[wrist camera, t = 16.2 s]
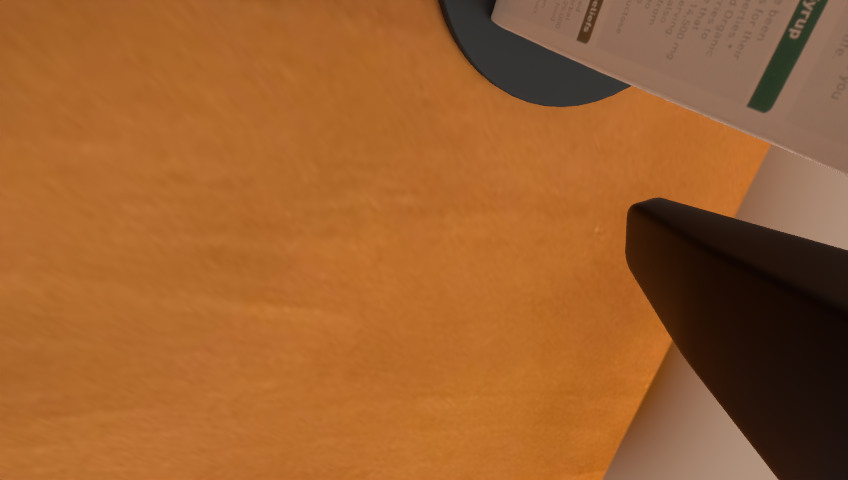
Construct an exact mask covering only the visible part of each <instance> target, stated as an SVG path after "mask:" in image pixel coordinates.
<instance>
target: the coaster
mask: <svg viewBox="0 0 848 480" xmlns="http://www.w3.org/2000/svg"><path fill="white" fill-rule="evenodd" d="M439 2H440V5H441V8H442V11H443V14H444V17H445V21H446V23H447V25H448V27H449V29H450V31H451V34H452V36H453V38H454V40H455V42H456V43H457V45H458V46H459V48H460V49H461V51H462V52H463V54H464V56H465V57H466V58H467V59H468V61H469V62H470V63H471V64H472V65H473V66H474V68H475V69H476V70H477V71H478V72H479V73H480V74H481V75H483V76H484V77H485V78H486V79H487V80H489V81H490V82H491V83H492V84H494V85H495V86H497V87H498V88H500V89H502V90H503V91H505V92H507V93H508V94H510V95H512V96H514V97H516V98H519V99H521V100H524V101H526V102H530V103H534V104H539V105H543V106H555V107H566V106H578V105H583V104H587V103H592V102H596V101H599V100H601V99H604V98H607V97H609V96H612V95H614V94H616V93H618V92H620V91H622V90H624V89H626V88H628V87H630V86H631V85H629V84H627V83H625V82H622V81H620V80H618V79H615V78H613V77H610V76H608V75H606V74H603V73H601V72H599V71H596V70H594V69H592V68H589V67H587V66H585V65H583V64H581V63H579V62H576V61H574V60H572V59H570V58H567V57H565V56H563V55H560V54H558V53H556V52H554V51H552V50H549V49H547V48H545V47H543V46H541V45H539V44H537V43H534V42H532V41H530V40H528V39H526V38H524V37H522V36H519V35H517V34H515V33H513V32H511V31H508V30H506V29H504V28H502V27H500V26H498V25H497V24H495V23H494V22H493V21H492V20H491V15H492V13H493V10H494V7H495V3H496V0H439Z"/></svg>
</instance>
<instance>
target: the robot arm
mask: <svg viewBox="0 0 848 480" xmlns="http://www.w3.org/2000/svg"><path fill="white" fill-rule="evenodd" d="M625 254H626V260H627V264H628V266H629V269H630V271H631V272H632V274H633V276H634V277H635V279H636V280H637V282H638V284H639V285H640V287H641V289H642V290H643V292H644V294H645V295H646V297H647V299H648V300H649V302H650V303H651V305H652V307H653V308H654V310H655V312H656V313H657V315H658V317H659V318H660V320H661V322H662V323H663V325H664V326H665V328H666V330H667V331H668V333H669V335H670V336H671V338H672V340H673V341H674V343H675V344H676V346H677V347H678V349H679V350H680V352H681V353H682V355H683V356H684V358H685V359H686V360H687V362H688V363H689V365H690V366H691V367H692V368H693V370H694V371H695V372H696V374H697V375H698V376H699V378H700V379H701V380H702V382H704V384H705V385H706V387H707V388H708V389H709V391H710V392H711V393H712V394H713V396H714V397H715V398H716V400H717V401H718V402H719V404H720V405H721V406H722V407H723V409H724V410H725V411H726V412H727V414H728V415H729V416H730V418H731V419H732V420H733V422H734V423H735V424H736V425H737V427H738V428H739V429H740V431H741V432H742V433H743V434H744V436H745V437H746V438H747V440H748V441H749V442H750V443H751V445H752V446H753V447H754V449H755V450H756V451H757V452H758V454H759V455H760V456H761V458H762V459H763V460H764V462H765V463H766V464H767V465H768V467H769V468H770V469H771V471H772V472H773V473H774V474H775V476H776V477H777V478H778V479H779V480H848V250H844V249H841V248H837V247H834V246H830V245H827V244H823V243H819V242H815V241H812V240H809V239H805V238H802V237H798V236H795V235H791V234H788V233H784V232H780V231H777V230H773V229H770V228H766V227H762V226H759V225H756V224H752V223H748V222H745V221H741V220H737V219H734V218H731V217H727V216H724V215H720V214H716V213H713V212H709V211H706V210H702V209H699V208H695V207H692V206H688V205H685V204H681V203H677V202H674V201H670V200H667V199H663V198H653V199H649V200H646V201H643V202H639V203H636V204H633V205H632V206H631V207H630V208H629V210H628V213H627V226H626V249H625Z"/></svg>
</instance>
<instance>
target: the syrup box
mask: <svg viewBox="0 0 848 480" xmlns="http://www.w3.org/2000/svg"><path fill="white" fill-rule="evenodd" d="M491 20H492V21H493V22H494V23H495V24H497V25H498V26H500V27H502V28H504V29H506V30H508V31H511V32H513V33H515V34H517V35H519V36H522V37H524V38H526V39H528V40H530V41H532V42H534V43H537V44H539V45H541V46H543V47H545V48H547V49H549V50H552V51H554V52H556V53H558V54H560V55H563V56H565V57H567V58H570V59H572V60H574V61H576V62H579V63H581V64H583V65H585V66H587V67H589V68H592V69H594V70H596V71H599V72H601V73H603V74H606V75H608V76H610V77H613V78H615V79H618V80H620V81H622V82H625V83H627V84H629V85H632V86H634V87H636V88H639V89H641V90H643V91H646V92H648V93H650V94H652V95H655V96H658V97H661V98H663V99H665V100H667V101H669V102H672V103H674V104H677V105H679V106H681V107H683V108H686V109H688V110H691V111H693V112H696V113H699V114H701V115H703V116H705V117H708V118H710V119H712V120H715V121H717V122H720V123H722V124H725V125H727V126H729V127H732V128H734V129H737V130H739V131H741V132H744V133H746V134H749V135H751V136H753V137H756V138H758V139H761V140H763V141H766V142H768V143H770V144H773V145H775V146H777V147H780V148H782V149H785V150H787V151H789V152H792V153H794V154H796V155H799V156H801V157H804V158H806V159H808V160H811V161H813V162H815V163H818V164H820V165H823V166H825V167H827V168H830V169H832V170H834V171H837V172H839V173H842V174H844V175H846V176H848V0H496V3H495V7H494V10H493V13H492V15H491Z"/></svg>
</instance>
